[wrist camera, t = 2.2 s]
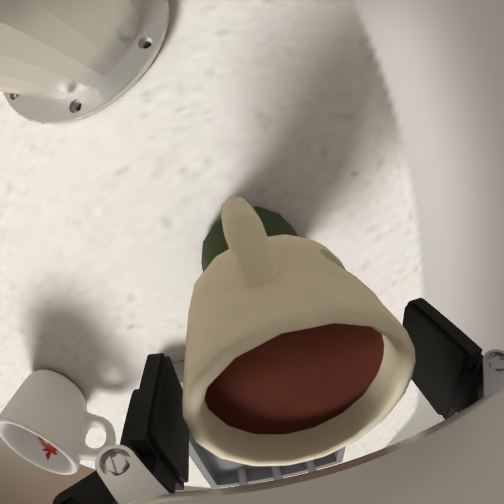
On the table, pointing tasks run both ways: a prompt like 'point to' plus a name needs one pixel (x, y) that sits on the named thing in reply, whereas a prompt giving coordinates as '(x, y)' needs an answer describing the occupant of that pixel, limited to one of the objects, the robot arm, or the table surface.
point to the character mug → (285, 346)
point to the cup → (51, 423)
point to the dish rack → (242, 474)
